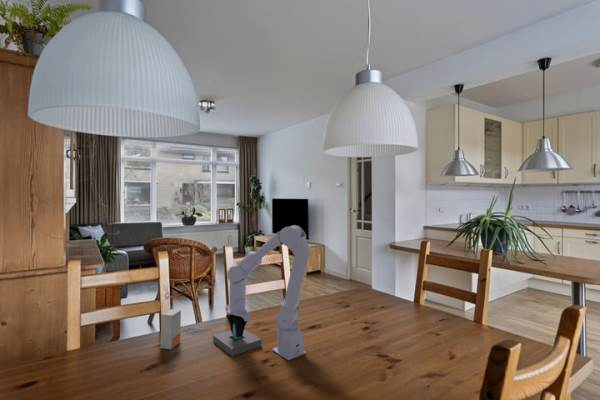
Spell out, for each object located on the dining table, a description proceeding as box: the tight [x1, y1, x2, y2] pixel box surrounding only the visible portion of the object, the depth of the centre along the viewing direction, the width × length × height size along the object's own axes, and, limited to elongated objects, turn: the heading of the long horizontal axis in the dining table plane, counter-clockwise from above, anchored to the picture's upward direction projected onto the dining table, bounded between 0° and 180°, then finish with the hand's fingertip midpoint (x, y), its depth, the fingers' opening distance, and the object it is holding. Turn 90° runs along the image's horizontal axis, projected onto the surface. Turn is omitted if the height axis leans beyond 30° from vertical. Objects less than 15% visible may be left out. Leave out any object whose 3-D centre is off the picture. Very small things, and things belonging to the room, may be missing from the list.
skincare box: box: [160, 309, 182, 350], centre depth 117 cm, size 6×4×12 cm
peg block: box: [212, 328, 262, 357], centre depth 119 cm, size 14×12×2 cm
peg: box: [233, 323, 241, 341], centre depth 119 cm, size 3×3×6 cm
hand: (237, 334), depth 119 cm, fingers closed on peg, 3 cm apart
